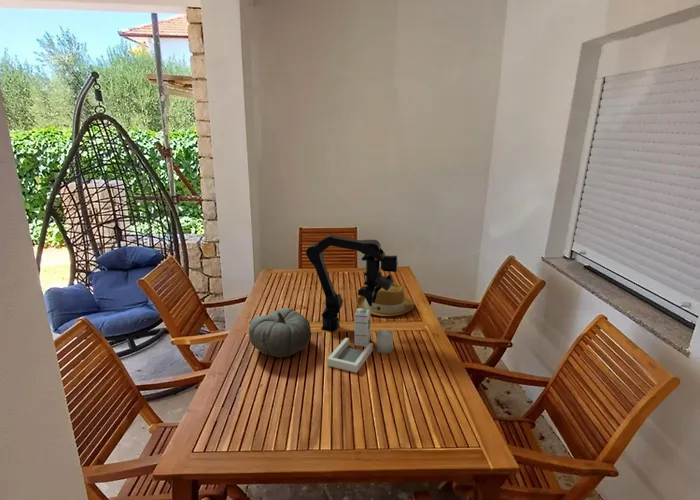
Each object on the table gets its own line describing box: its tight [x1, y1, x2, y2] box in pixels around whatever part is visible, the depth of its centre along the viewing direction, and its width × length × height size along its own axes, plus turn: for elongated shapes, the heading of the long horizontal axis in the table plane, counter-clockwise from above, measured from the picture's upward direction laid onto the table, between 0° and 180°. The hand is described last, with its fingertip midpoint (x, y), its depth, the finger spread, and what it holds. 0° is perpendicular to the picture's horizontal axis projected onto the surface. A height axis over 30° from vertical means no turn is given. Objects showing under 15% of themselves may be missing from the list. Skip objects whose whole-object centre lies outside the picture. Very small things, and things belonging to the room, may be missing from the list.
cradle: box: [326, 337, 374, 374], centre depth 160 cm, size 12×18×3 cm
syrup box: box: [353, 307, 371, 348], centre depth 169 cm, size 6×6×14 cm
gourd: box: [248, 307, 312, 359], centre depth 165 cm, size 25×25×17 cm
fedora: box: [356, 281, 415, 317], centre depth 205 cm, size 27×29×12 cm
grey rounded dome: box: [375, 329, 394, 354], centre depth 165 cm, size 6×6×7 cm
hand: (371, 304), depth 177 cm, fingers open, 3 cm apart
